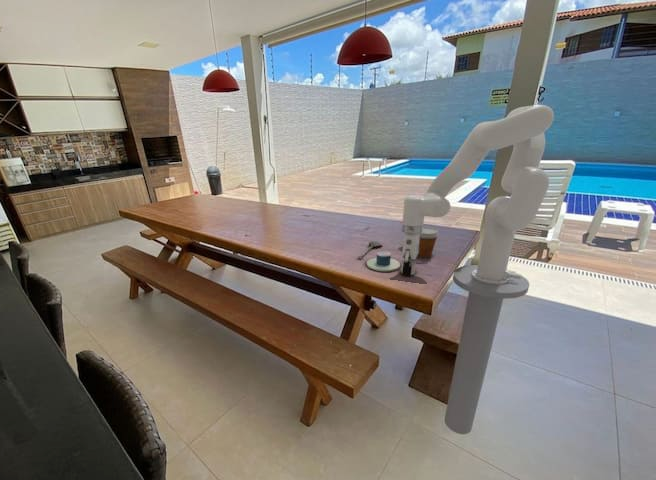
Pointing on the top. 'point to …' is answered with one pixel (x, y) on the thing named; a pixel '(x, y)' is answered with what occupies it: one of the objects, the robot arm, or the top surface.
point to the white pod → (411, 265)
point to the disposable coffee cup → (427, 242)
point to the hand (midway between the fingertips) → (407, 271)
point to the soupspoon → (372, 244)
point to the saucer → (393, 266)
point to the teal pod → (383, 258)
